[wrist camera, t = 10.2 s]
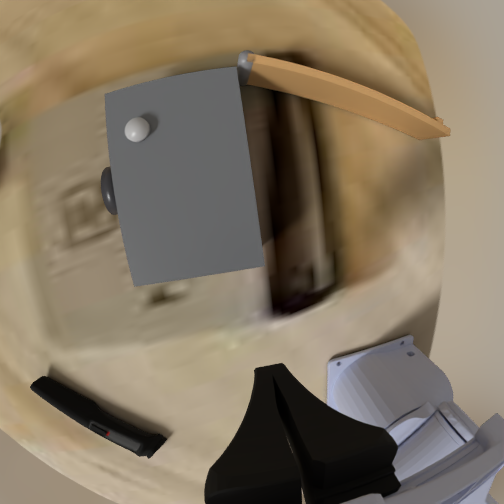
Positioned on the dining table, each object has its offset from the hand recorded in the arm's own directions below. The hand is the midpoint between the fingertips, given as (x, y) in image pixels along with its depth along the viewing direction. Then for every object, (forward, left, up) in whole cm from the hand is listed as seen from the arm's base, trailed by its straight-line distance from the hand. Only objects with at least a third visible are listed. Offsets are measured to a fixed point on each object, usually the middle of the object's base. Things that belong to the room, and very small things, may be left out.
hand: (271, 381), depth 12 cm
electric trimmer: (+18, +11, -10) cm, 23 cm away
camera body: (+3, -10, -9) cm, 14 cm away
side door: (-9, -14, -9) cm, 19 cm away
